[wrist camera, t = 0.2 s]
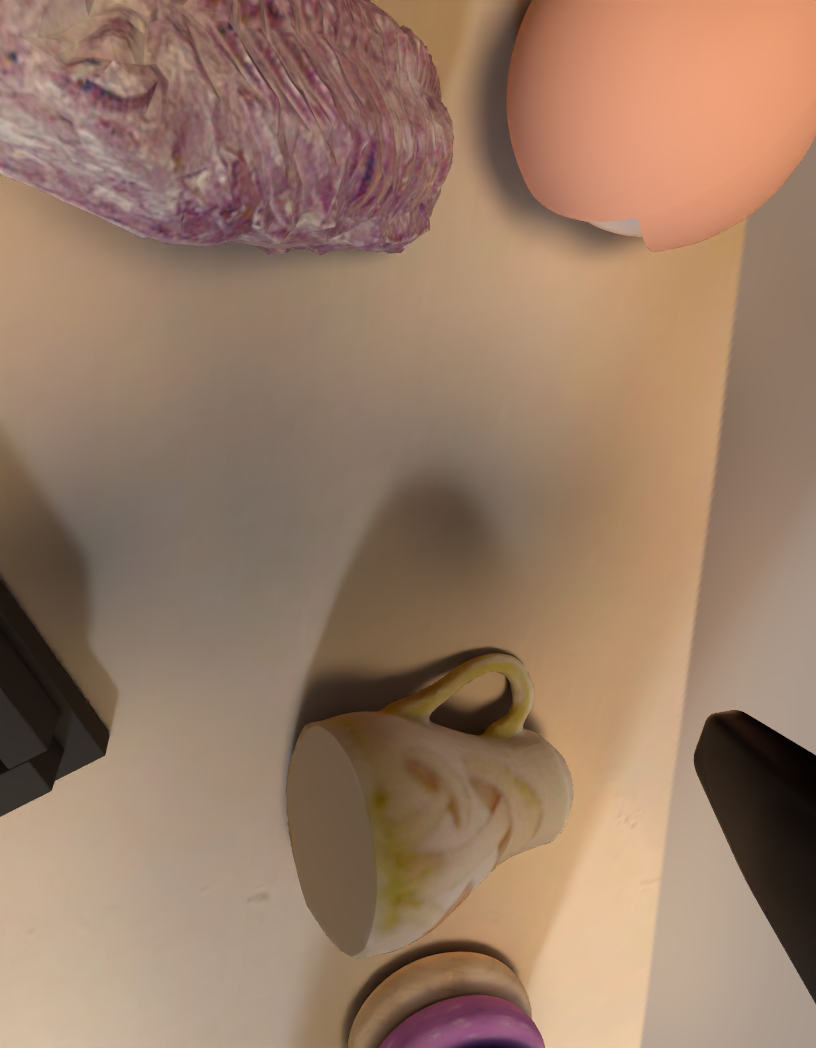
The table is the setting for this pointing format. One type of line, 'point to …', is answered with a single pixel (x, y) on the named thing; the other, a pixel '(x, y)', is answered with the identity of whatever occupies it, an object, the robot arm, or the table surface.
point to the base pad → (38, 714)
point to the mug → (417, 809)
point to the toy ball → (662, 110)
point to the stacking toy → (447, 1007)
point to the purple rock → (227, 119)
